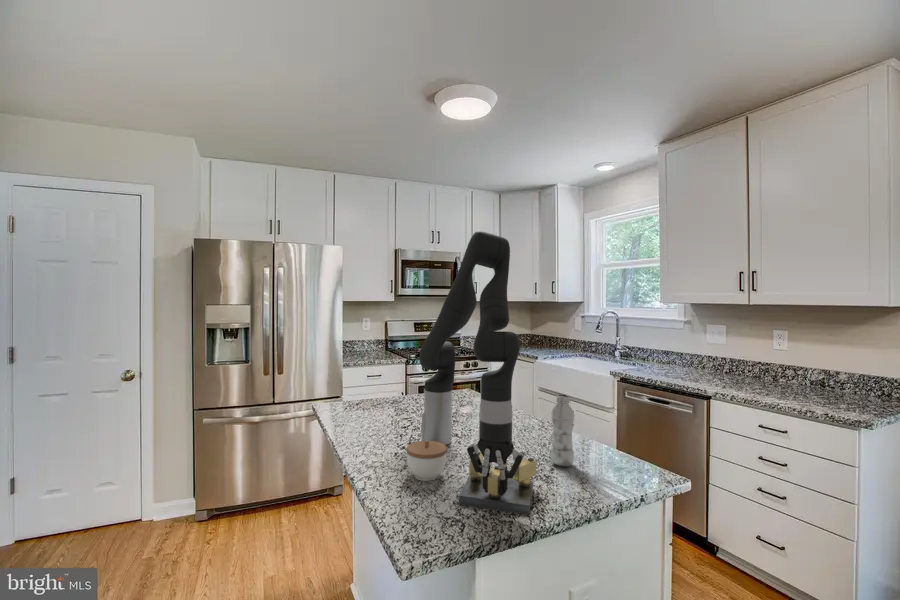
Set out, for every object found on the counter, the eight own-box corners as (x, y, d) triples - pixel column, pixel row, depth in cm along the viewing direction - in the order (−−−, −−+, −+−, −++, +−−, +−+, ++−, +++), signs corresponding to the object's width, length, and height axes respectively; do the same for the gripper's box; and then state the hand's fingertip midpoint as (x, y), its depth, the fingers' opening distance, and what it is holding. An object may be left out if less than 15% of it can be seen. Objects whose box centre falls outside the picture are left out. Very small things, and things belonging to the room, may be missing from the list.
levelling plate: (458, 504, 97) (459, 489, 97) (470, 481, 109) (470, 468, 109) (529, 514, 93) (529, 499, 93) (533, 489, 105) (533, 476, 105)
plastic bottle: (561, 471, 117) (562, 399, 117) (545, 462, 123) (546, 394, 123) (578, 467, 120) (580, 397, 120) (562, 459, 126) (563, 392, 126)
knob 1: (479, 484, 103) (479, 460, 103) (467, 482, 103) (468, 459, 103) (483, 473, 109) (484, 451, 109) (473, 472, 109) (473, 450, 109)
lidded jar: (399, 480, 109) (399, 444, 109) (416, 465, 119) (417, 432, 119) (437, 487, 105) (438, 450, 105) (452, 471, 115) (452, 437, 115)
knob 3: (519, 490, 100) (520, 466, 100) (511, 485, 102) (511, 462, 102) (536, 482, 104) (537, 459, 104) (528, 479, 106) (528, 456, 106)
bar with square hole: (498, 502, 93) (499, 477, 93) (486, 501, 94) (486, 475, 94) (502, 490, 99) (503, 466, 99) (491, 488, 100) (491, 464, 100)
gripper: (529, 417, 97) (528, 491, 97) (472, 410, 103) (471, 480, 103) (521, 426, 91) (520, 506, 91) (461, 418, 96) (460, 493, 96)
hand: (494, 492), depth 97 cm, fingers closed on bar with square hole, 3 cm apart
